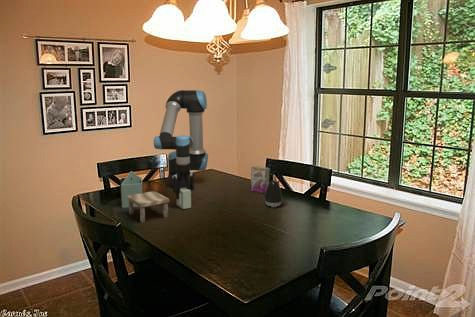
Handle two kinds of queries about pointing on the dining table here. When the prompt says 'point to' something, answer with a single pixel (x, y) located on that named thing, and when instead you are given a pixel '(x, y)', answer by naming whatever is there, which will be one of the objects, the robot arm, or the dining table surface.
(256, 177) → the candy bar box
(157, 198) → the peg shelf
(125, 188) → the teal gabled house
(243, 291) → the dining table surface
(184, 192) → the sage block
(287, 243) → the dining table surface
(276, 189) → the dark grey cone
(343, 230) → the dining table surface
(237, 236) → the dining table surface
